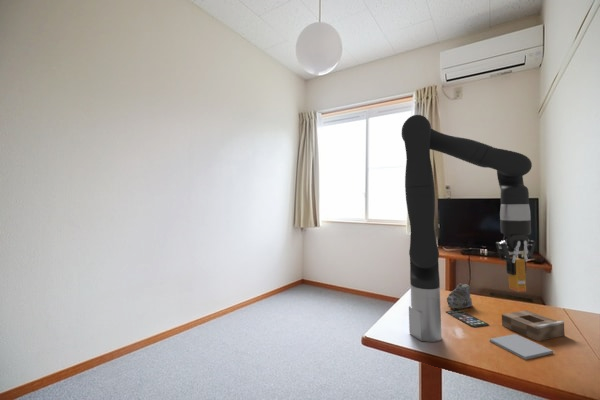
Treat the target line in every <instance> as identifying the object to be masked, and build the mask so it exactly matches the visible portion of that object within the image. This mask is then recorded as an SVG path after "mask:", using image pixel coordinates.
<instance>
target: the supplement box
mask: <svg viewBox="0 0 600 400" xmlns="http://www.w3.org/2000/svg"><path fill="white" fill-rule="evenodd" d="M515 263H516V274H515V275H511V274H508V288H509V290H512V291H514V292H517V293H521V292H522V293H523V292H527V281H526V278H527V277H526V273H525V259H520V258H517V257H516V260H515Z"/></svg>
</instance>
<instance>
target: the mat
mask: <svg viewBox="0 0 600 400" xmlns="http://www.w3.org/2000/svg"><path fill="white" fill-rule="evenodd" d="M489 342H490V343H492V344H494V345H496V346H498V347H499V348H501V349H504V350H505V351H508V352H510V353H511V354H514V355H516V356H518V357H519V358H521V359H523V360H530V359H533V358H539V357H543V356H547V355H551V354H552V355H553V354H554V350H552V349H550V348H547V347H546V346H544V345H541V344H539V343H538V342H534V341H532V340H531V339H528V338H525V337H524V336H521V335H520V334H517V333H513V334H507V335H502V336H498V337H493V338H492V337H491V338H489Z"/></svg>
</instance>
